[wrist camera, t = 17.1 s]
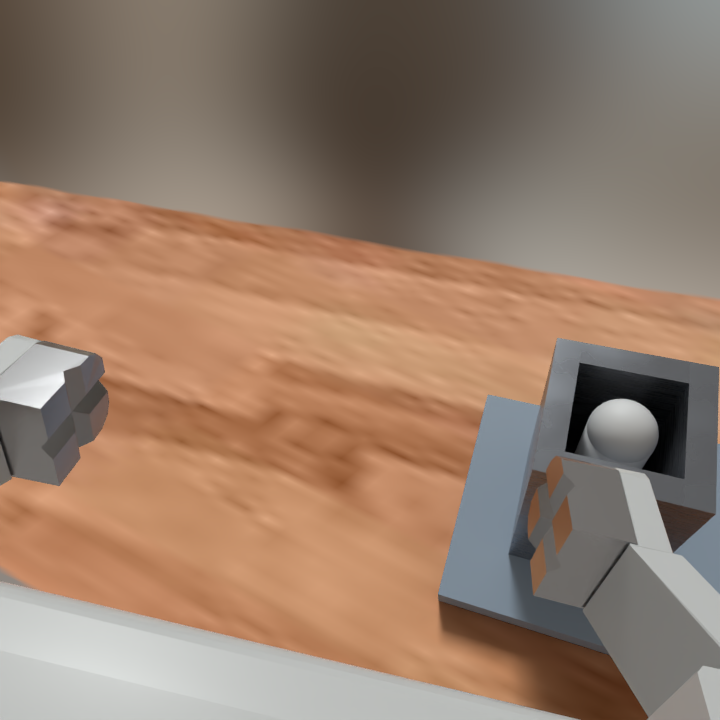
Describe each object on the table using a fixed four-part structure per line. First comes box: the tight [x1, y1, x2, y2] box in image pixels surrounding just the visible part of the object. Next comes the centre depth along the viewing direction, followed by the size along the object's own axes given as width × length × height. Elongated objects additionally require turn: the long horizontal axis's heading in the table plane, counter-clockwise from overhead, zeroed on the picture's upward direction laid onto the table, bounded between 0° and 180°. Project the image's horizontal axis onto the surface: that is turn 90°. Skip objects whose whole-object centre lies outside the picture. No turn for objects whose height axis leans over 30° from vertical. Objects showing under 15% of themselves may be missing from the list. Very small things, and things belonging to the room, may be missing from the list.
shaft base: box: [438, 395, 720, 655], centre depth 27 cm, size 16×12×12 cm
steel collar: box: [508, 338, 719, 560], centre depth 27 cm, size 6×6×11 cm
